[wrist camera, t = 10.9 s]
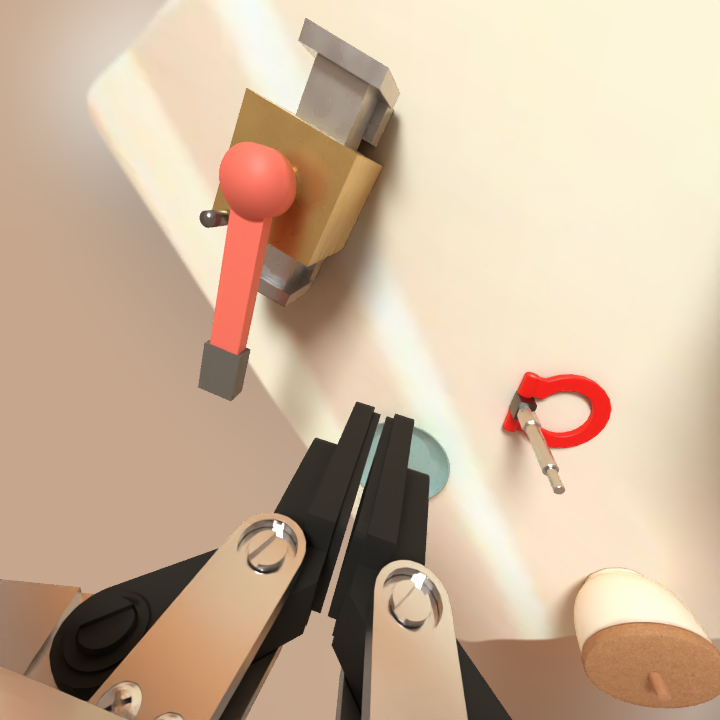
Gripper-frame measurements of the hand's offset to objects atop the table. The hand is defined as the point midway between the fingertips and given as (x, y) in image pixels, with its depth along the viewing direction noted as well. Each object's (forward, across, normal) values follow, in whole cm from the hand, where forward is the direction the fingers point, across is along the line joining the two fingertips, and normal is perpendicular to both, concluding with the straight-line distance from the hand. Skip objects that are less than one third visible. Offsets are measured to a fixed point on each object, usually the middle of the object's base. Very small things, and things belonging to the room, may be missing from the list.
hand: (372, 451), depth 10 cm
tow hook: (+28, -17, +10) cm, 34 cm away
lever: (+15, +12, +2) cm, 19 cm away
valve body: (+27, +11, -5) cm, 30 cm away
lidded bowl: (+27, -34, +31) cm, 54 cm away
